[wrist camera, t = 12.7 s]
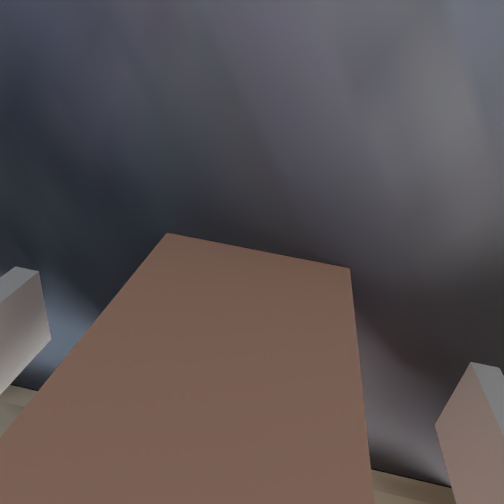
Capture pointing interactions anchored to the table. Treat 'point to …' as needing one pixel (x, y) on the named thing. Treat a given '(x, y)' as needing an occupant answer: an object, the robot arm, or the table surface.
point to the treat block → (203, 390)
